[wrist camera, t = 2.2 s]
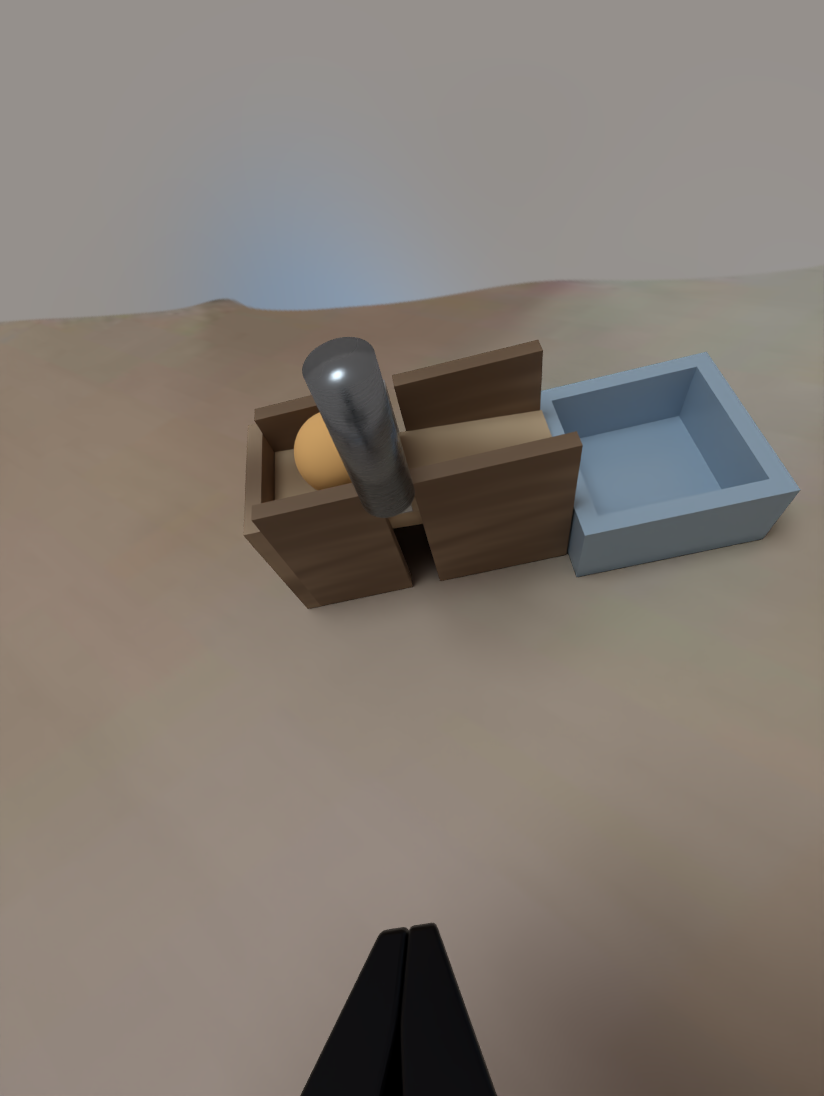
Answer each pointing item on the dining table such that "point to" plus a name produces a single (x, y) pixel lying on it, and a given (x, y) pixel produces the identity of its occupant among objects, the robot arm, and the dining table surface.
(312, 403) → the ramp frame
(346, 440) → the gate
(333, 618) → the dining table surface
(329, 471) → the ball
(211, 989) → the dining table surface
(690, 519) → the blue square tray
